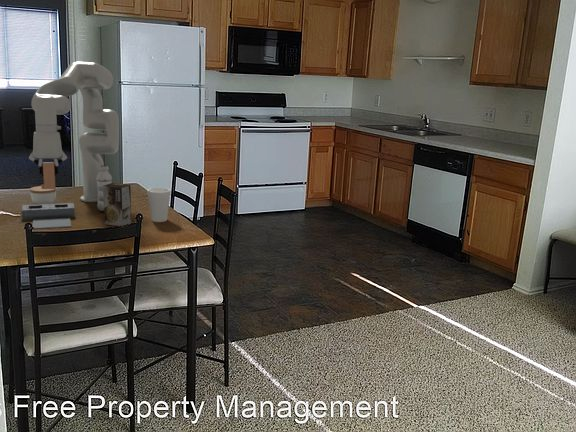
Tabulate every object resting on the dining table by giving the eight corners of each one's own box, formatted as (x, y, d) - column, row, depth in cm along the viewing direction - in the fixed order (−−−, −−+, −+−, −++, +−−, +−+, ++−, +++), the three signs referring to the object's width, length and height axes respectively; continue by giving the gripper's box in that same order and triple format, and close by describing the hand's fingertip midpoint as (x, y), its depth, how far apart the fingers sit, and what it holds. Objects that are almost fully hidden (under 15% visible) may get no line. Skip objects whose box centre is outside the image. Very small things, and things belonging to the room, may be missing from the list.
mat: (70, 219, 236) (69, 218, 236) (71, 226, 226) (71, 225, 225) (33, 220, 231) (33, 220, 231) (32, 229, 220) (32, 228, 220)
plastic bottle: (116, 210, 253) (115, 165, 248) (105, 213, 247) (104, 167, 242) (105, 208, 256) (103, 164, 251) (94, 211, 250) (92, 166, 245)
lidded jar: (31, 208, 249) (29, 187, 246) (30, 203, 258) (29, 182, 256) (57, 207, 253) (56, 186, 251) (56, 201, 263) (55, 181, 260)
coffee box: (132, 223, 235) (131, 184, 231) (122, 227, 229) (121, 187, 225) (113, 220, 238) (112, 182, 234) (103, 224, 232) (102, 185, 228)
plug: (55, 187, 227) (53, 162, 225) (55, 188, 223) (54, 163, 221) (44, 187, 225) (42, 162, 223) (44, 189, 222) (42, 163, 220)
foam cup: (151, 216, 246) (150, 187, 243) (172, 217, 246) (172, 188, 243) (145, 222, 237) (144, 191, 234) (167, 223, 237) (167, 193, 233)
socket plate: (73, 211, 247) (73, 202, 246) (74, 217, 239) (74, 208, 238) (23, 214, 240) (22, 205, 239) (22, 219, 232) (21, 210, 231)
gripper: (69, 128, 226) (71, 173, 230) (22, 127, 219) (26, 174, 224) (70, 130, 219) (72, 177, 223) (22, 129, 213) (25, 178, 217)
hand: (49, 175), depth 223 cm, fingers closed on plug, 4 cm apart
